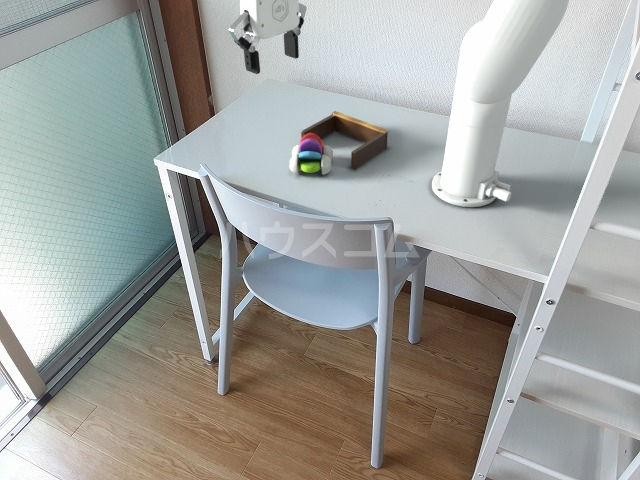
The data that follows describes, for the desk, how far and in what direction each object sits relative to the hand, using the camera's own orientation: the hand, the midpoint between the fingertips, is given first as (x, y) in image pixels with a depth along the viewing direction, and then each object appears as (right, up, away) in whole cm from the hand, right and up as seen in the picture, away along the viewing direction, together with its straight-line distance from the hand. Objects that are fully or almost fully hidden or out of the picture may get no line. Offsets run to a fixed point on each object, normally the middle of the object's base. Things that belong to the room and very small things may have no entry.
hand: (273, 64), depth 95 cm
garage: (+13, -12, +19) cm, 27 cm away
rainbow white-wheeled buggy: (+7, -17, +14) cm, 23 cm away
